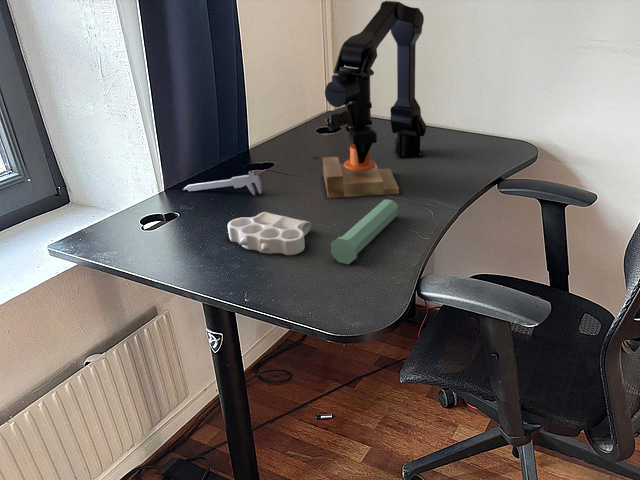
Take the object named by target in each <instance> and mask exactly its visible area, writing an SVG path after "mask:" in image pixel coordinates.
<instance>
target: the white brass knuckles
mask: <svg viewBox="0 0 640 480" xmlns="http://www.w3.org/2000/svg"><path fill="white" fill-rule="evenodd" d="M311 229H312V223H311V222H310V221H308V220H303V219H297V218H293V217H289V216H286V215H279V214H275V213H271V212H268V211H263V212H259V213H258V214H257V215H255V216H251V217H250V216H249V217H247V216H246V217H244V216H243V217H237V218H233V219H232V220H230V221H229V222H228V223H227V232H228V238H229V240H230V242H231V243H237V244H238V245H241V247H242V248H244V249H246V250H249V251H257V252H259V253H261V254H268V255H269V254H270V255H271V254H283V255H285V256H294V255H298V254H300V253H302V252H304V251H305V248H306V245H305V244H306V242H305V236H306V235H307V234H308V233H309V232H310V231H311Z"/></svg>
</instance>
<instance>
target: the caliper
mask: <svg viewBox="0 0 640 480" xmlns="http://www.w3.org/2000/svg"><path fill="white" fill-rule="evenodd" d="M247 172H248V174H244V175H238V176H232V177H231V178H229V179H221V180H220V179H219V180H213V181H206V182H197V183H191V184H187V185H186V186H184V187H183V188H182V191H188V192H195V191H203V190H209V189H210V190H211V189H217V188H225V187H226V188H227V187H233V188H234V189H238V188H239V189H241V188H243V187H244V186H246V187H247V188H248V190H249V192H250V193H251V194H252V195H253V196H255V195H256V190H255V187H256V189H257V192H258V195H261V194H262V193H263V186H262V185H263V184H262V179H261V178H260V176H259V173H256V170H253V171H251V170H249V171H247ZM254 184H255V187H254Z"/></svg>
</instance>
